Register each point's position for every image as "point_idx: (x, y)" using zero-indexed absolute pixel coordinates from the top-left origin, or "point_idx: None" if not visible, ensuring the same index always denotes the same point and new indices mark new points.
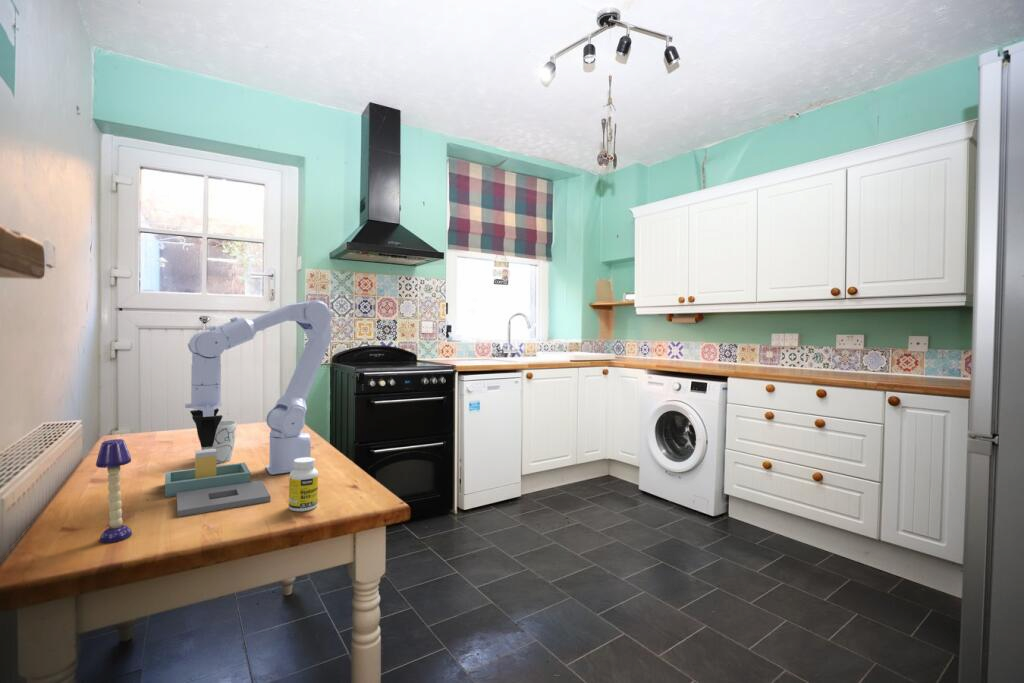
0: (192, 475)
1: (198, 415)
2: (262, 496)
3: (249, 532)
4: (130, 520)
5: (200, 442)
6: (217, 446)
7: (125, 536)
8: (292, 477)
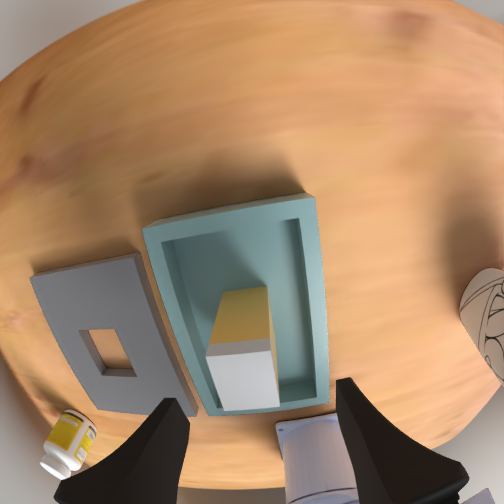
0: (304, 278)
1: (377, 499)
2: (93, 400)
3: (10, 356)
4: (33, 189)
5: (153, 411)
6: (482, 329)
7: None
8: (45, 442)
